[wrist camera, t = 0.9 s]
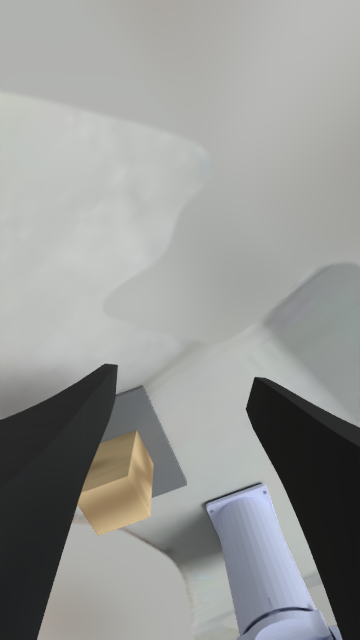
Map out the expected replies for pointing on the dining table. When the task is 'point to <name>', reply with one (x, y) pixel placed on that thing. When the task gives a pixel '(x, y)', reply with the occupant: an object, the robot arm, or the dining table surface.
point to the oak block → (118, 484)
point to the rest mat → (146, 437)
